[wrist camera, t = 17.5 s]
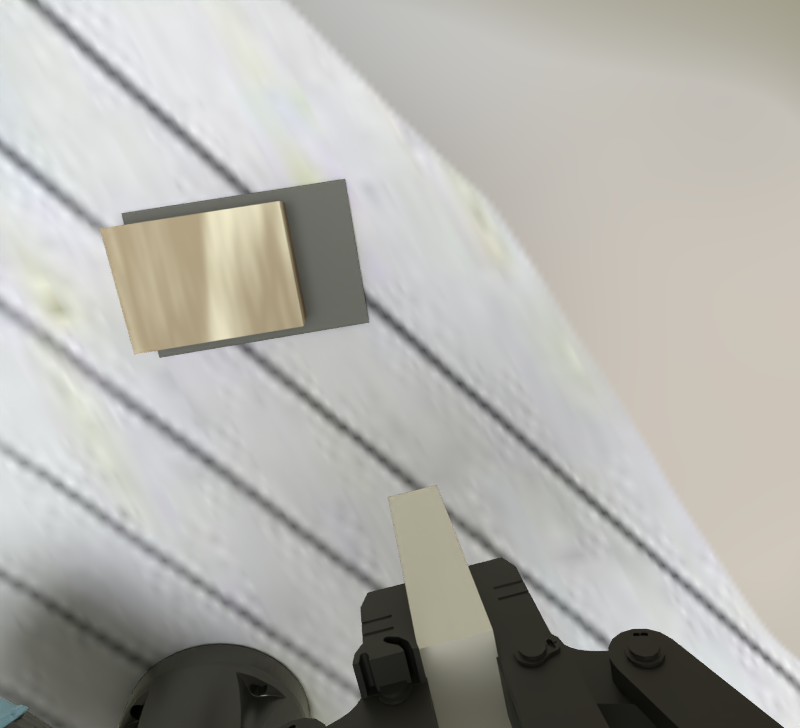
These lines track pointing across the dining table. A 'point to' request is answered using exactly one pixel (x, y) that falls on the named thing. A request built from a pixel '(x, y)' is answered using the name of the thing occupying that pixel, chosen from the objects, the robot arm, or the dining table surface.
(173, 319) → the slab
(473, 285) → the dining table surface
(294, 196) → the mat
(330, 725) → the robot arm
